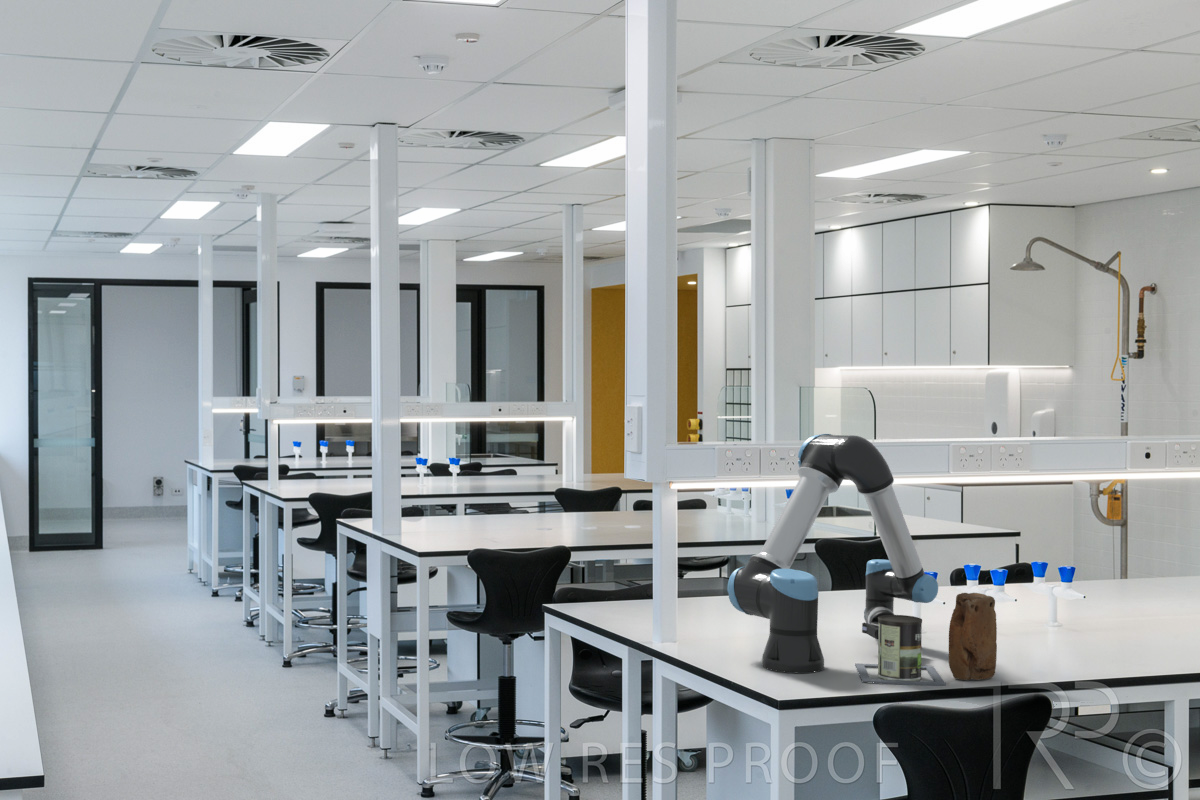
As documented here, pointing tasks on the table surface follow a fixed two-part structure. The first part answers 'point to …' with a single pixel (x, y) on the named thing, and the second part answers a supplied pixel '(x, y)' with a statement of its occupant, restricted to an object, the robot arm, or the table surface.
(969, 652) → the brown rough upright block
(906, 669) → the coffee can
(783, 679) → the table surface
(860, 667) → the flat grey frame
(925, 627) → the table surface
